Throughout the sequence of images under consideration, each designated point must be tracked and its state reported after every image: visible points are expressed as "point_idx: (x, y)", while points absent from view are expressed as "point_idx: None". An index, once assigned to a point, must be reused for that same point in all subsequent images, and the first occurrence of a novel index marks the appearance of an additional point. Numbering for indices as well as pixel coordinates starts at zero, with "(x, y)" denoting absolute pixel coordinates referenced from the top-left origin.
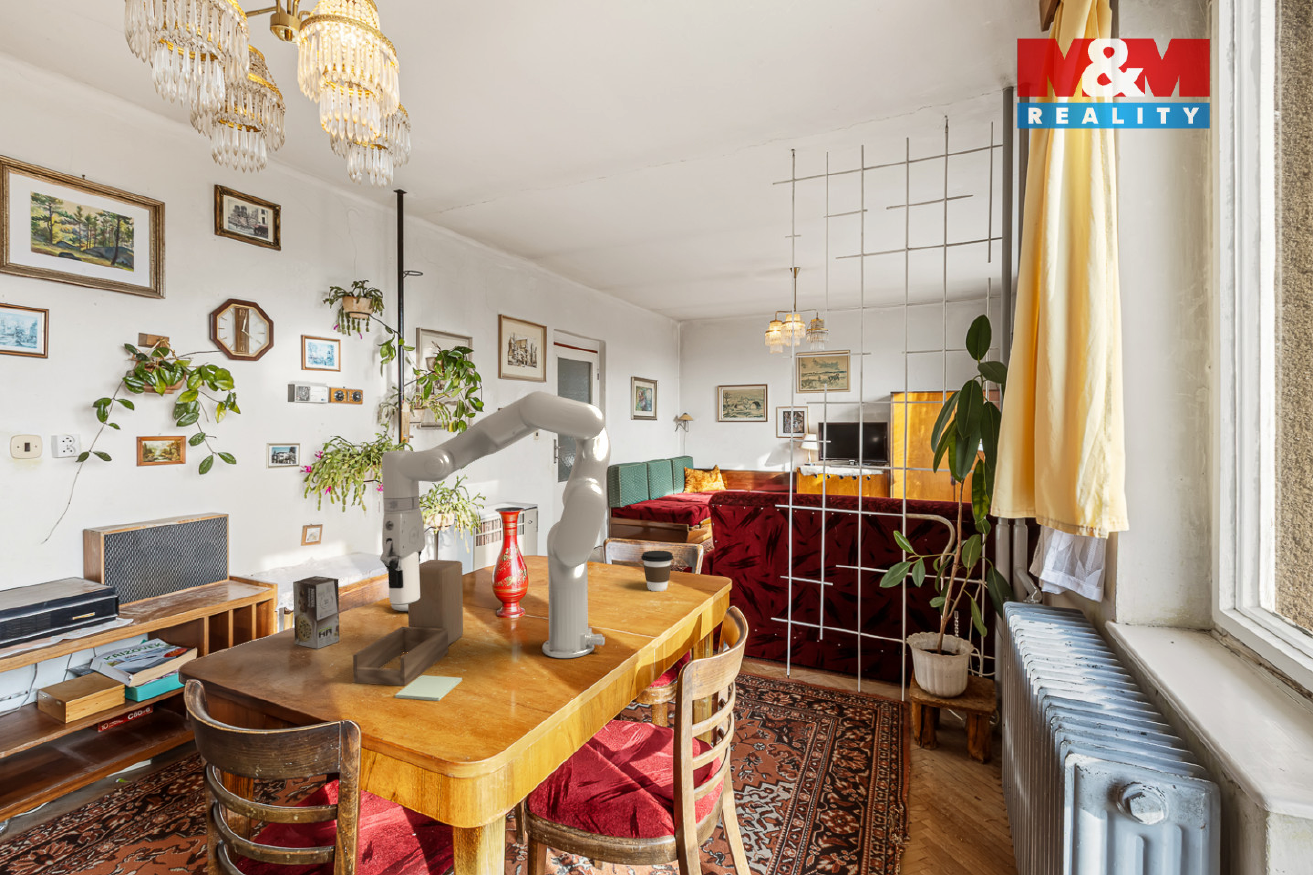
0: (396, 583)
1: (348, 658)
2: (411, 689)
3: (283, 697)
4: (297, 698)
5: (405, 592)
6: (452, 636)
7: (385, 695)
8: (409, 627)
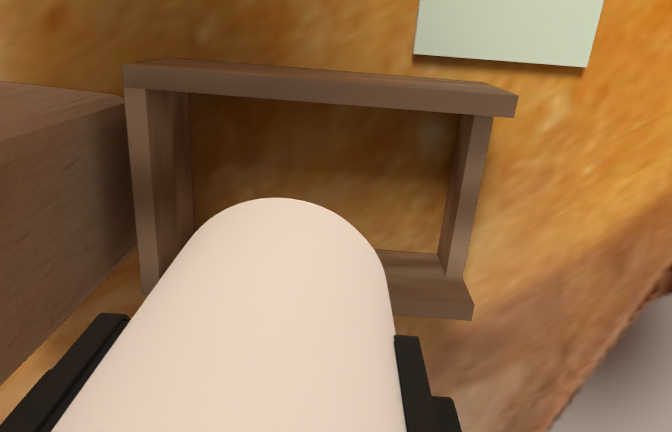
0: (453, 402)
1: None
2: (545, 26)
3: (543, 391)
4: (553, 355)
5: (378, 289)
6: (51, 89)
7: (558, 112)
8: (146, 259)
